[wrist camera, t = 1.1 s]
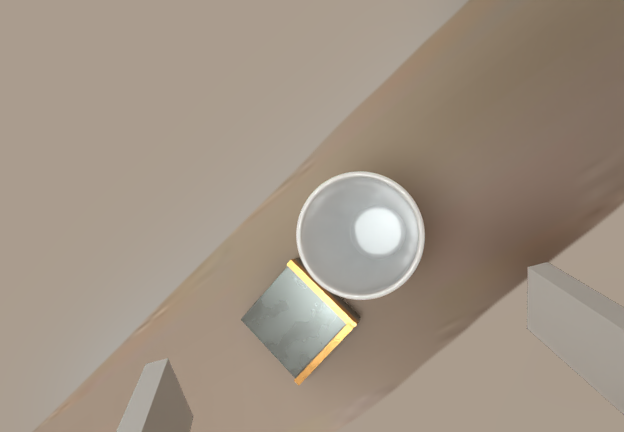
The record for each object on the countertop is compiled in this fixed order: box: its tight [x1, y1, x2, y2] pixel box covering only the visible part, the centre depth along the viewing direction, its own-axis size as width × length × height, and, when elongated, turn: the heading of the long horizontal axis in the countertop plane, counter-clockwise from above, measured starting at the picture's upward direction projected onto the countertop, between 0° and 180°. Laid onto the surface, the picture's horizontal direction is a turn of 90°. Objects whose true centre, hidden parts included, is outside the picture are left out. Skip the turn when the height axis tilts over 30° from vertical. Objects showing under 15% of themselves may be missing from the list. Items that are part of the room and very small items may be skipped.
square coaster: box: [241, 258, 360, 385], centre depth 33 cm, size 8×8×2 cm
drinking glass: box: [296, 171, 425, 300], centre depth 25 cm, size 7×7×15 cm
